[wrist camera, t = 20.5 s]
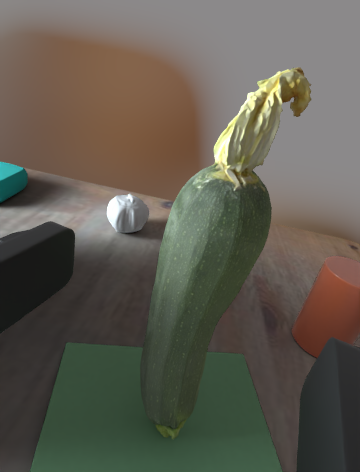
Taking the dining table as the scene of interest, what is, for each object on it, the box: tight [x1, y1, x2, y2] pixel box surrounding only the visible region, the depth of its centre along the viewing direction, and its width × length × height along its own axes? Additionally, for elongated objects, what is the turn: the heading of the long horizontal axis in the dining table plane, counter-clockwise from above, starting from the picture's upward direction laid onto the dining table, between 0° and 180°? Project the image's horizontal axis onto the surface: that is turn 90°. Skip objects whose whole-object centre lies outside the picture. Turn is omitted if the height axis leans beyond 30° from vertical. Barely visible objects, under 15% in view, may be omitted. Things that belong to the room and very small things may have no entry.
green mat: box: [30, 342, 283, 472], centre depth 20 cm, size 14×10×1 cm
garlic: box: [107, 194, 149, 233], centre depth 40 cm, size 6×5×5 cm
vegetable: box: [140, 68, 311, 439], centre depth 15 cm, size 4×4×20 cm
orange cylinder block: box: [292, 256, 360, 358], centre depth 28 cm, size 5×5×8 cm
